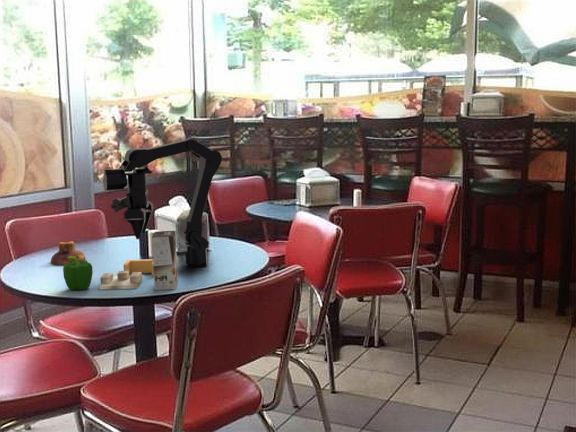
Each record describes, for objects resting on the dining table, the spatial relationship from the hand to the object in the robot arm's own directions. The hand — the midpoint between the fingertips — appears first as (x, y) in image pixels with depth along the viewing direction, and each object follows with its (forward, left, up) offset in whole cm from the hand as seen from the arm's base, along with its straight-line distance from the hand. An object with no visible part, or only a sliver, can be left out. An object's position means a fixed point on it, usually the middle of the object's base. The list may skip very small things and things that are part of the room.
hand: (140, 236), depth 229 cm
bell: (+29, -19, -12) cm, 37 cm away
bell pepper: (+16, +18, -12) cm, 27 cm away
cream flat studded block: (+4, +14, -12) cm, 19 cm away
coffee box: (-10, +18, -12) cm, 24 cm away
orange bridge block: (0, +3, -12) cm, 12 cm away
